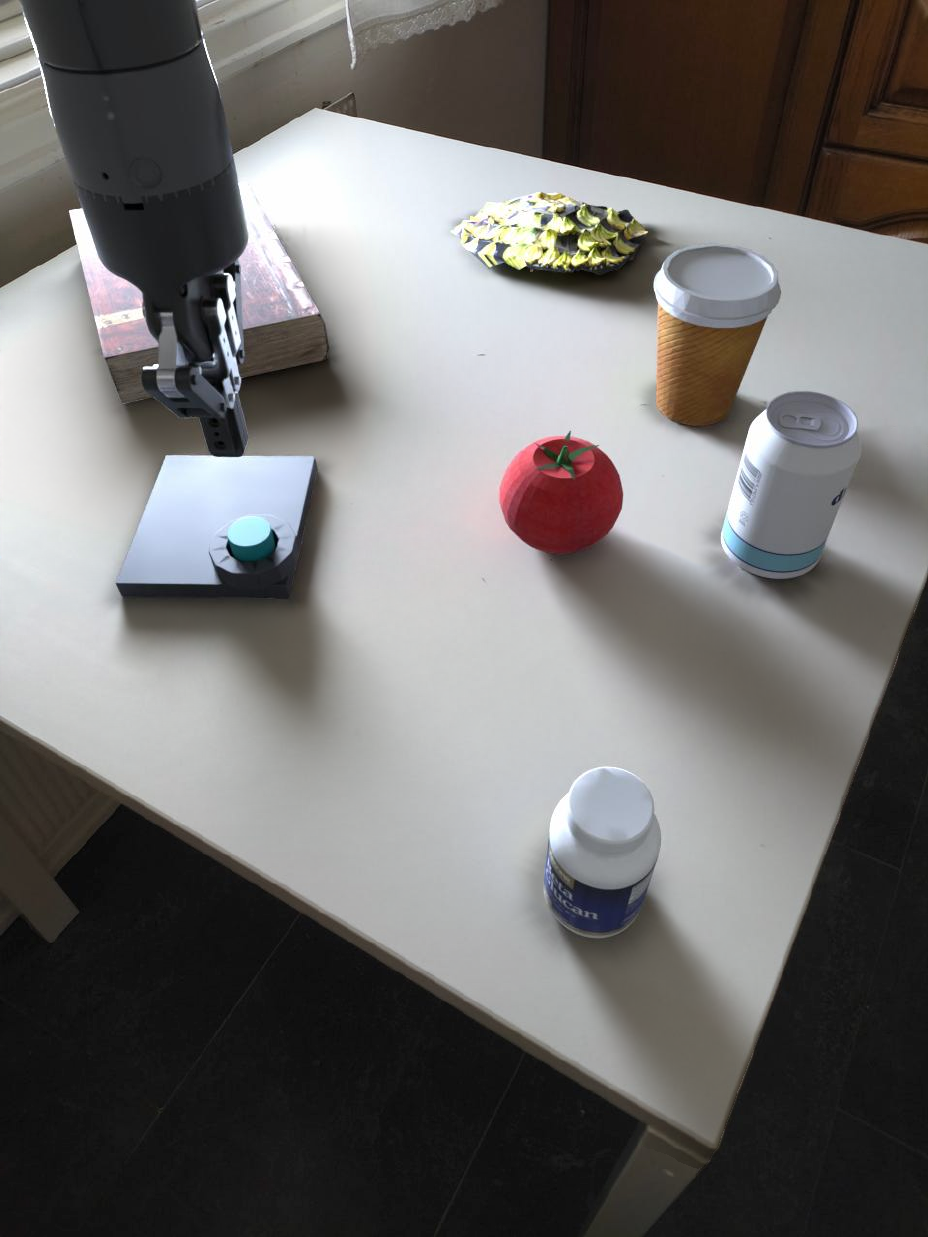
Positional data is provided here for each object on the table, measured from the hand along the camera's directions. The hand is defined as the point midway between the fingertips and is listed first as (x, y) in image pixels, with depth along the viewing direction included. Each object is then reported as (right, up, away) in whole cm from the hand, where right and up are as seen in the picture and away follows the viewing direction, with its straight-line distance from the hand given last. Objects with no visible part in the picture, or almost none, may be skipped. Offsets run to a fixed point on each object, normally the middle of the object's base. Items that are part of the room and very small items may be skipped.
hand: (230, 449), depth 55 cm
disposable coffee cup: (+34, +8, +22) cm, 41 cm away
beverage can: (+36, -6, +10) cm, 38 cm away
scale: (-4, -4, +13) cm, 14 cm away
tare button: (0, -5, +8) cm, 9 cm away
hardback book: (-12, +21, +34) cm, 42 cm away
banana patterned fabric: (+23, +29, +41) cm, 55 cm away
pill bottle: (+21, -25, -6) cm, 34 cm away
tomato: (+21, -4, +12) cm, 25 cm away
